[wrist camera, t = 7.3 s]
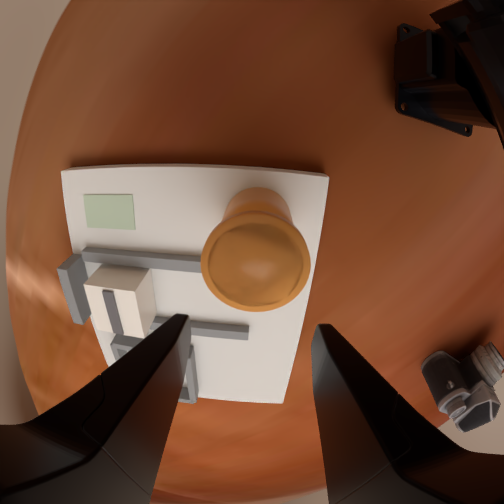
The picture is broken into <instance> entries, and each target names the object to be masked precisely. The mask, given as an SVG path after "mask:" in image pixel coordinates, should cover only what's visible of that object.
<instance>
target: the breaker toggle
mask: <svg viewBox="0 0 504 504" xmlns="http://www.w3.org/2000/svg"><path fill="white" fill-rule="evenodd" d="M83 285H84V288H85V292H86V296H87V299H88V303H89V306H90V309H91V313H92V316H93V319H94V322H95V325H96V328H97V330H102V331H106V332H111V333H116V334H121V335H127V336H132V337H138V338H143V339H144V338H145V337H146V335H147V333H148V331H149V329H150V326H151V324H152V322H153V320H154V318H155V316H156V314H157V310H156V304H155V297H154V290H153V283H152V275H151V268H141V267H131V266H121V265H112V264H103V263H102V264H101V265H100V266H99V268H98V269H97V270H96V271H95V272H94V273H93V274H92V275H91V276H90V277H89V278H88V280H87V281H86V282H85V283H84V284H83Z"/></svg>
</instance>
